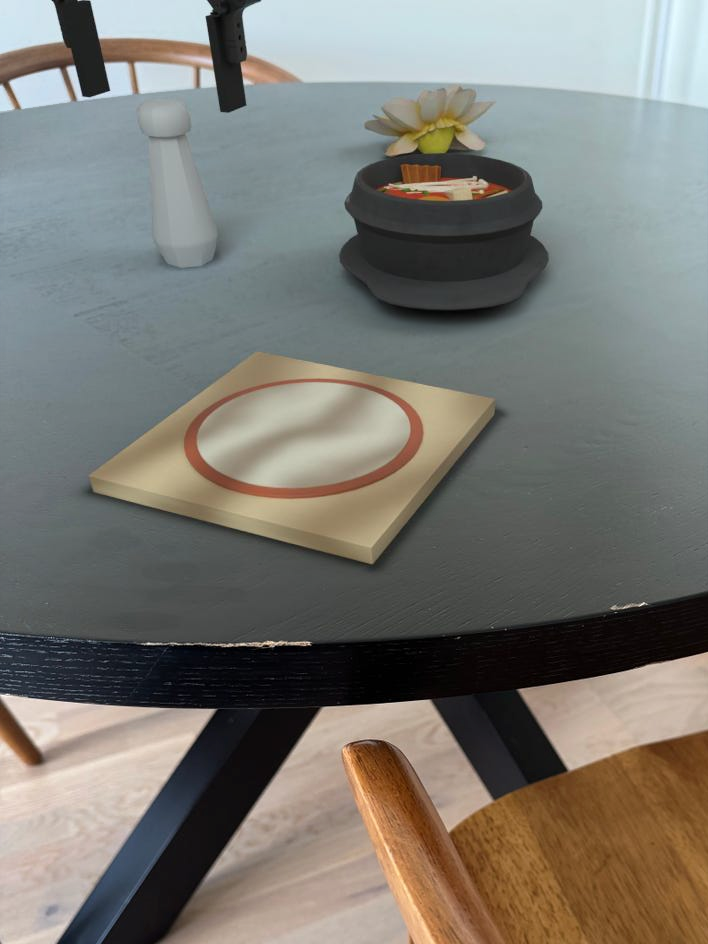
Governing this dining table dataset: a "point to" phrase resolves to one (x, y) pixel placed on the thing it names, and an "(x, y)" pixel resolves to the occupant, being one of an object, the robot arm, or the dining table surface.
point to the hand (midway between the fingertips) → (163, 101)
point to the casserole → (444, 231)
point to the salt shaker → (176, 187)
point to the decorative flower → (431, 121)
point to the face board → (301, 454)
